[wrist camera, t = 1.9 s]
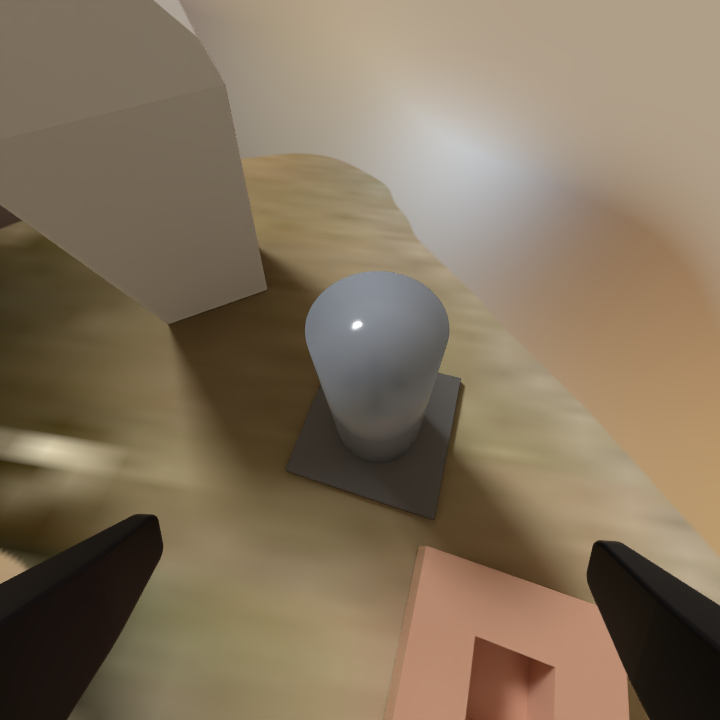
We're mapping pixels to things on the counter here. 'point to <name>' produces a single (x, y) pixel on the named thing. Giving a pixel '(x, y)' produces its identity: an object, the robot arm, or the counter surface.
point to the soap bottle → (126, 150)
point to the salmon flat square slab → (500, 650)
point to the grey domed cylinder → (377, 359)
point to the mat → (381, 480)
